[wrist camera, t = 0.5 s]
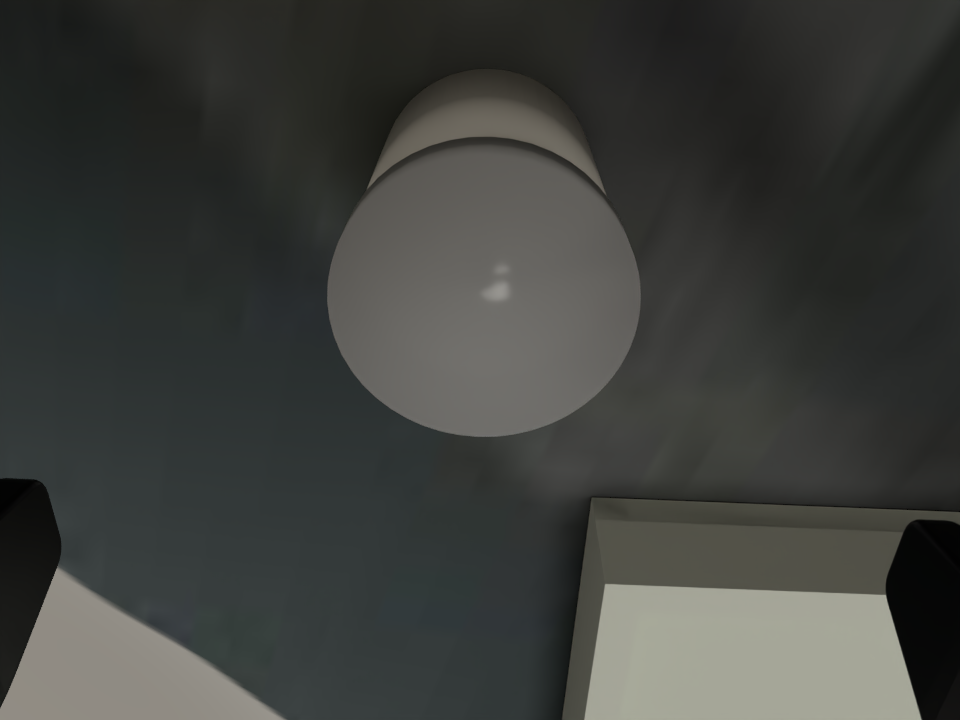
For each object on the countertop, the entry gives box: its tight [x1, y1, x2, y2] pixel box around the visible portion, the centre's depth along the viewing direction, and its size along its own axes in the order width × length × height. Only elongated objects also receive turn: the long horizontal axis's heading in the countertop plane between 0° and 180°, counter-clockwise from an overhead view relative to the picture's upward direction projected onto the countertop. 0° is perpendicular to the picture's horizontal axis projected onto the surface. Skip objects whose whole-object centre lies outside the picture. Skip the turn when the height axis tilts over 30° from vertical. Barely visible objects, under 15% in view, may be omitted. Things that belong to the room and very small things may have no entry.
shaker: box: [327, 69, 641, 437], centre depth 17 cm, size 5×5×7 cm
